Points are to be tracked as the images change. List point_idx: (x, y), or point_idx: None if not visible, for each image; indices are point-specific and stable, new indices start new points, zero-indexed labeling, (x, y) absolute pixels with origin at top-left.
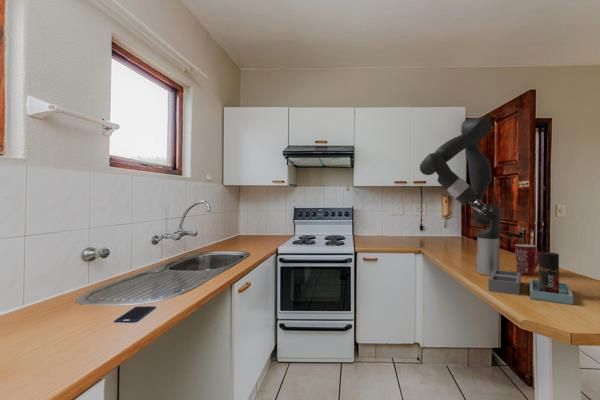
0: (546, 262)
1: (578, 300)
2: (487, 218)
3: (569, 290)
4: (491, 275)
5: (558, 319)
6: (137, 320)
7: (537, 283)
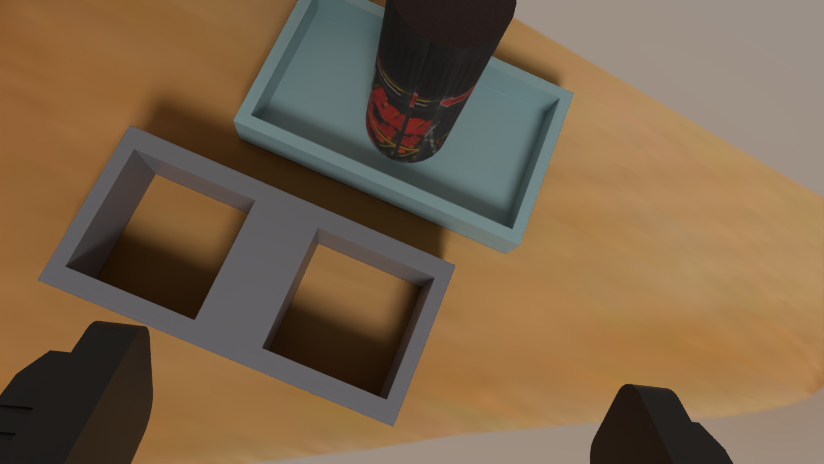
0: (487, 62)
1: None
2: (130, 455)
3: None
4: (262, 366)
5: (766, 269)
6: None
7: (263, 102)
